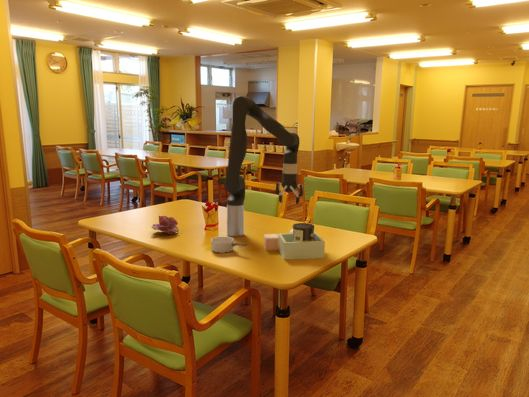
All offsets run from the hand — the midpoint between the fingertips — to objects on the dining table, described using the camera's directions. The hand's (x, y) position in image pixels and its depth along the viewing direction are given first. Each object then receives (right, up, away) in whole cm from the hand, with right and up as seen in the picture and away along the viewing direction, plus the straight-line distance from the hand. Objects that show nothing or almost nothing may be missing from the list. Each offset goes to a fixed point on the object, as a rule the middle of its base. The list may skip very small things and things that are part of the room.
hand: (289, 203), depth 214 cm
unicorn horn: (+8, -21, +5) cm, 23 cm away
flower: (-69, -17, +18) cm, 73 cm away
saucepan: (-30, -24, -14) cm, 41 cm away
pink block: (-10, -23, -8) cm, 26 cm away
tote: (+5, -24, -16) cm, 29 cm away
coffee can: (+6, -24, -16) cm, 30 cm away
